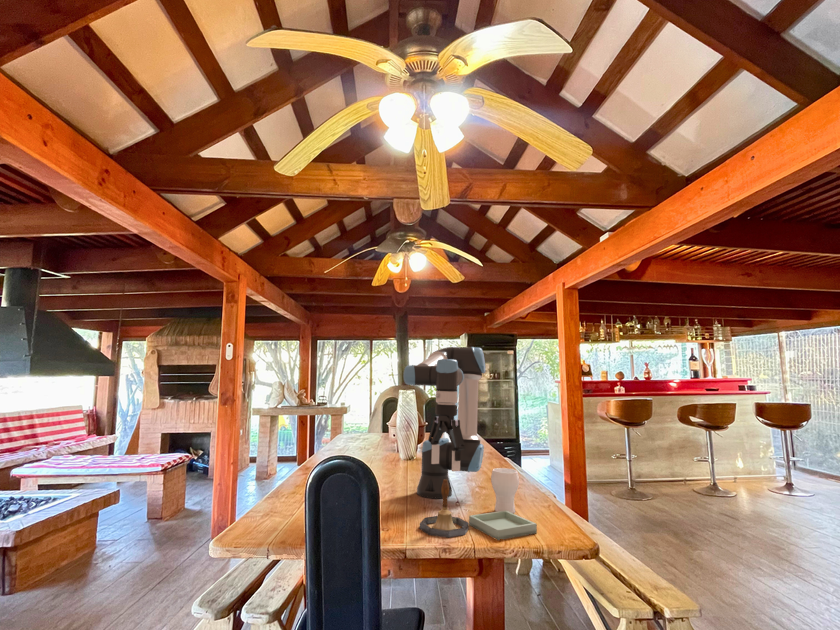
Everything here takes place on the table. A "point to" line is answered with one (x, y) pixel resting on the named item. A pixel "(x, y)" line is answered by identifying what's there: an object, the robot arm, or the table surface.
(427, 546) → the table surface
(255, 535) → the table surface
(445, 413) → the robot arm
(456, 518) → the collar
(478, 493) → the table surface
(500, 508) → the cup
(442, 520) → the hand bell
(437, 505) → the table surface
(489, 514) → the green square tray
